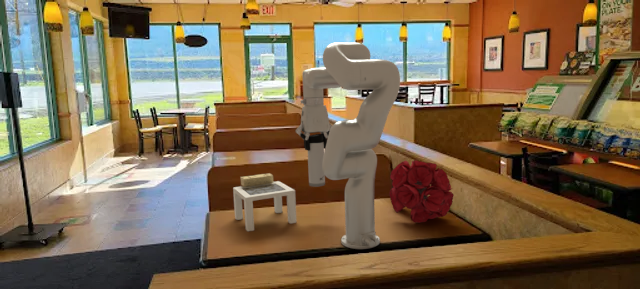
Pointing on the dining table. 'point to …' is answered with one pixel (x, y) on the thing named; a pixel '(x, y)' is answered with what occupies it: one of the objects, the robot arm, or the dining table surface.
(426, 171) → the bouquet
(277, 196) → the stand
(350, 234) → the robot arm
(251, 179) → the trapdoor
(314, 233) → the dining table surface
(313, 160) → the travel mug
